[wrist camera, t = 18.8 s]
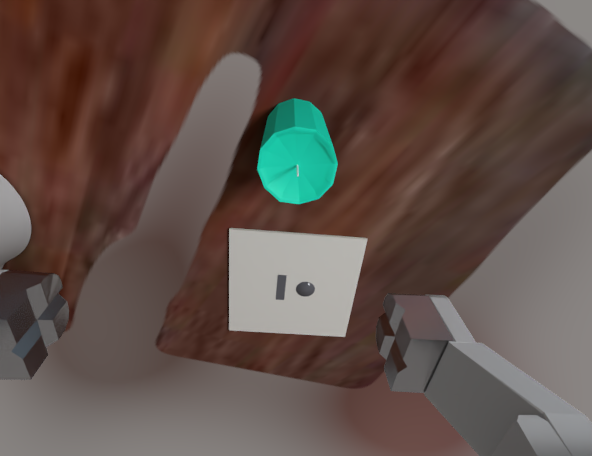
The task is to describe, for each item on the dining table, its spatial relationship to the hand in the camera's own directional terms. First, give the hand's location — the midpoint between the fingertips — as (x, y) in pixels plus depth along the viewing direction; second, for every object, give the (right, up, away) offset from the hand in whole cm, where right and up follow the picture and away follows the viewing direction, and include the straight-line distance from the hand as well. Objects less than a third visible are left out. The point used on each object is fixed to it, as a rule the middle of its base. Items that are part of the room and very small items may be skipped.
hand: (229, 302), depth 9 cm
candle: (+2, +12, +26) cm, 29 cm away
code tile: (+1, -6, +36) cm, 36 cm away
